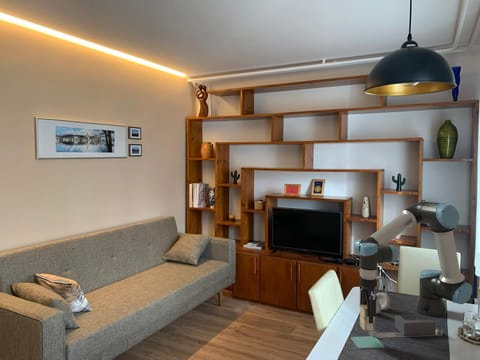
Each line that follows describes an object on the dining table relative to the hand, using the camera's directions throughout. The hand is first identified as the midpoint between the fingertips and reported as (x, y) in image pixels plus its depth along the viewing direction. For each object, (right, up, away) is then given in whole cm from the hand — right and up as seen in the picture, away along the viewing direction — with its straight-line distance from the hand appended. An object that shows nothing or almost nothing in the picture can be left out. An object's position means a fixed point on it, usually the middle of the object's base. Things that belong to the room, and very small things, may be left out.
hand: (367, 326), depth 175 cm
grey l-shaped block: (+28, -7, +12) cm, 31 cm away
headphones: (+18, -6, +36) cm, 40 cm away
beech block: (0, -1, 0) cm, 1 cm away
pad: (0, -8, +1) cm, 8 cm away
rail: (+22, -7, +9) cm, 24 cm away
